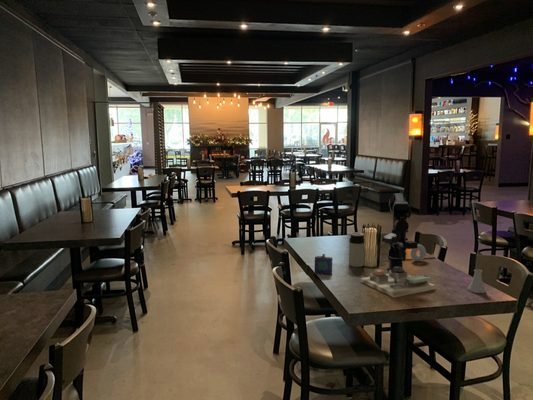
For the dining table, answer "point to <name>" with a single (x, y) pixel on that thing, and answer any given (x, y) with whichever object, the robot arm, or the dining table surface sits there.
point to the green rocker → (416, 279)
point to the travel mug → (356, 249)
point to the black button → (398, 269)
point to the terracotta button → (379, 273)
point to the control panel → (399, 289)
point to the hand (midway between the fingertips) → (398, 258)
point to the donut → (421, 255)
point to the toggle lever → (394, 275)
